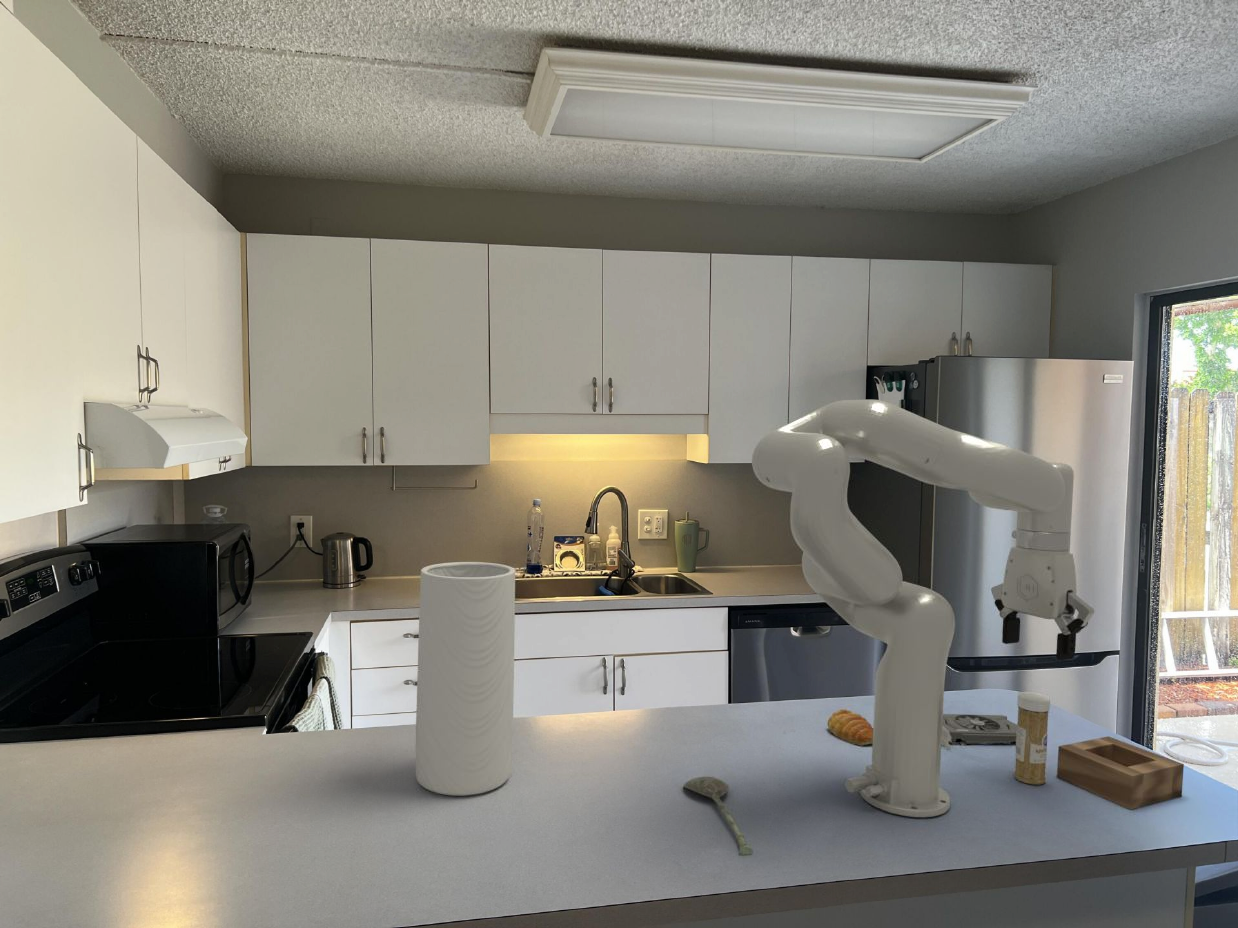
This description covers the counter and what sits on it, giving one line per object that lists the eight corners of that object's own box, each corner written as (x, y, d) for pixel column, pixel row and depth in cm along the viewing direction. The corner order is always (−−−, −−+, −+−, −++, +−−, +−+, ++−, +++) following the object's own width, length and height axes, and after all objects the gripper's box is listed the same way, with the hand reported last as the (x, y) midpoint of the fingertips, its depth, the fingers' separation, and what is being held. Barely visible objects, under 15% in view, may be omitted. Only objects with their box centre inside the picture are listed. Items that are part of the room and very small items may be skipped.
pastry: (886, 746, 145) (887, 724, 144) (853, 750, 142) (854, 728, 142) (854, 726, 153) (855, 706, 153) (822, 730, 151) (823, 709, 151)
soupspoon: (720, 787, 128) (679, 791, 127) (720, 765, 128) (678, 769, 127) (770, 855, 106) (720, 861, 105) (769, 829, 106) (719, 834, 105)
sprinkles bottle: (1044, 788, 129) (1049, 701, 128) (1012, 781, 131) (1016, 696, 130) (1046, 777, 133) (1051, 693, 132) (1014, 770, 135) (1019, 688, 134)
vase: (505, 800, 119) (510, 579, 117) (404, 797, 119) (408, 576, 117) (517, 759, 133) (522, 562, 132) (426, 757, 133) (430, 560, 131)
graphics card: (945, 734, 142) (915, 708, 154) (943, 755, 142) (914, 727, 154) (1040, 735, 143) (1004, 709, 155) (1038, 757, 144) (1002, 729, 156)
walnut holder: (1130, 809, 122) (1132, 775, 122) (1056, 777, 133) (1058, 746, 133) (1181, 796, 127) (1183, 763, 127) (1106, 766, 138) (1108, 736, 138)
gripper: (979, 535, 136) (974, 639, 137) (1077, 551, 121) (1071, 668, 121) (1012, 533, 139) (1007, 635, 140) (1111, 549, 124) (1105, 663, 125)
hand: (1036, 650), depth 131 cm, fingers open, 9 cm apart
